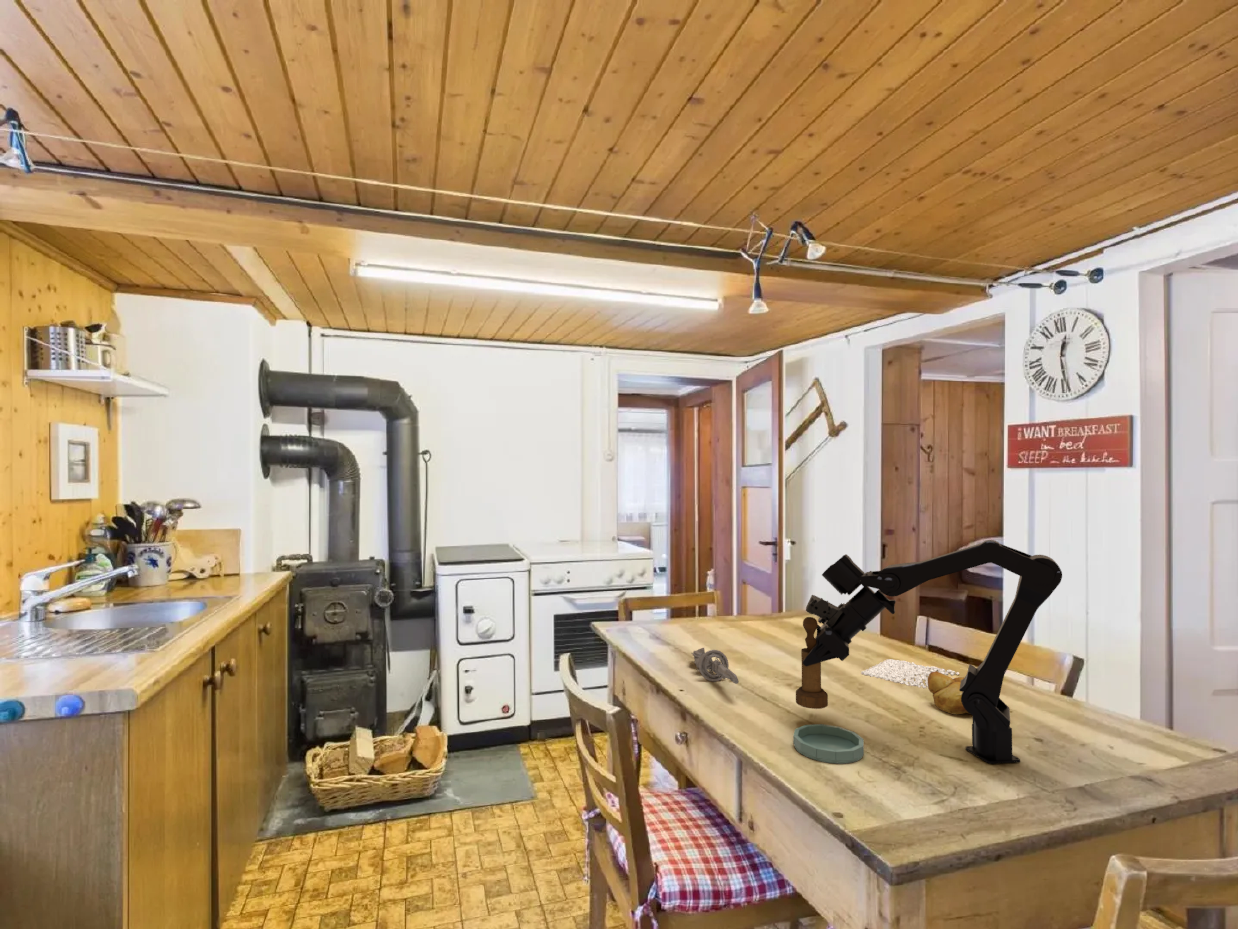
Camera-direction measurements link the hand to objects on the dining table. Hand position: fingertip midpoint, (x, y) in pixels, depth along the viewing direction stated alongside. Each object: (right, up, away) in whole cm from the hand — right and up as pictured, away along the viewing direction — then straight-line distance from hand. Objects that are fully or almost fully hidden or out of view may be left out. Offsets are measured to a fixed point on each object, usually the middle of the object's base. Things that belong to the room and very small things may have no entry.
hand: (804, 661), depth 131 cm
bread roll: (+38, -14, +8) cm, 41 cm away
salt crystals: (+39, -15, +34) cm, 54 cm away
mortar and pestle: (+1, -9, -1) cm, 9 cm away
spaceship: (-15, -14, +28) cm, 35 cm away
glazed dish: (+1, -13, -13) cm, 18 cm away
